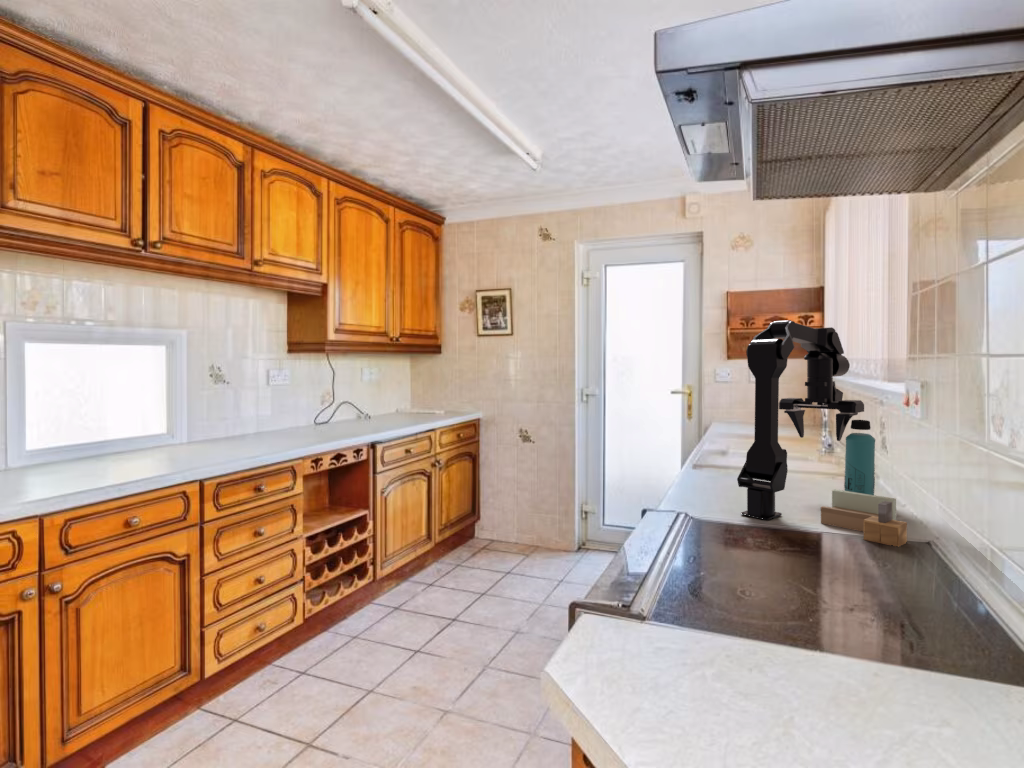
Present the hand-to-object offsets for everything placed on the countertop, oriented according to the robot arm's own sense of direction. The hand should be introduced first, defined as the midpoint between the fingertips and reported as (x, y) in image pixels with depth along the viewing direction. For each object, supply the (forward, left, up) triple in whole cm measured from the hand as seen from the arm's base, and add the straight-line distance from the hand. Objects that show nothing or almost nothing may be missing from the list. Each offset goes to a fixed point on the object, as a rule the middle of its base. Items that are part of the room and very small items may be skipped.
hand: (819, 439), depth 149 cm
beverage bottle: (+1, -9, -15) cm, 17 cm away
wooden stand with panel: (-20, -17, -15) cm, 30 cm away
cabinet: (-28, -25, -15) cm, 40 cm away
